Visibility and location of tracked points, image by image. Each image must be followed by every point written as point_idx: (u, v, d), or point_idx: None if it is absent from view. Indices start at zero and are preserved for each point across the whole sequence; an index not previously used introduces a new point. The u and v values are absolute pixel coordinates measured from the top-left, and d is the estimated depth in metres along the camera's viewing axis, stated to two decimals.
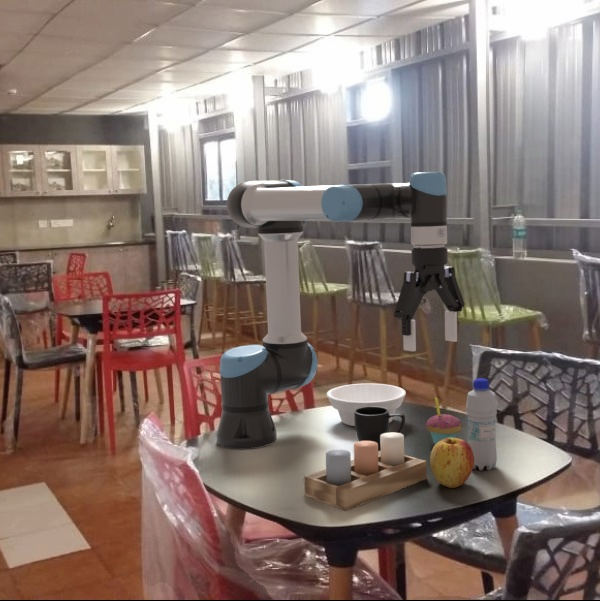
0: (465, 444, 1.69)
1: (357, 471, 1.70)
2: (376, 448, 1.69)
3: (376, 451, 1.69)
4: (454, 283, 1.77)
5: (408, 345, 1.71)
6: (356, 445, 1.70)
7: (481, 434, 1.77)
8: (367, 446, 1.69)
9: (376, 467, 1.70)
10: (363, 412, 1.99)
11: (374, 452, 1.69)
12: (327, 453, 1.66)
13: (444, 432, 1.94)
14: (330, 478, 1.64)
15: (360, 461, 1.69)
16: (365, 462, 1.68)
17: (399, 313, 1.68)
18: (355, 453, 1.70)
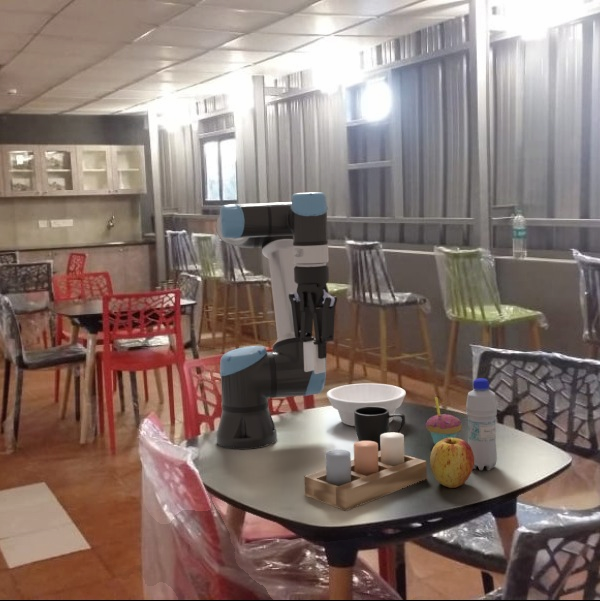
0: (465, 444, 1.69)
1: (357, 471, 1.70)
2: (376, 448, 1.69)
3: (376, 451, 1.69)
4: (323, 313, 1.74)
5: None
6: (356, 445, 1.70)
7: (481, 434, 1.77)
8: (367, 446, 1.69)
9: (376, 467, 1.70)
10: (363, 412, 1.99)
11: (374, 452, 1.69)
12: (327, 453, 1.66)
13: (444, 432, 1.94)
14: (330, 478, 1.64)
15: (360, 461, 1.69)
16: (365, 462, 1.68)
17: None
18: (355, 453, 1.70)
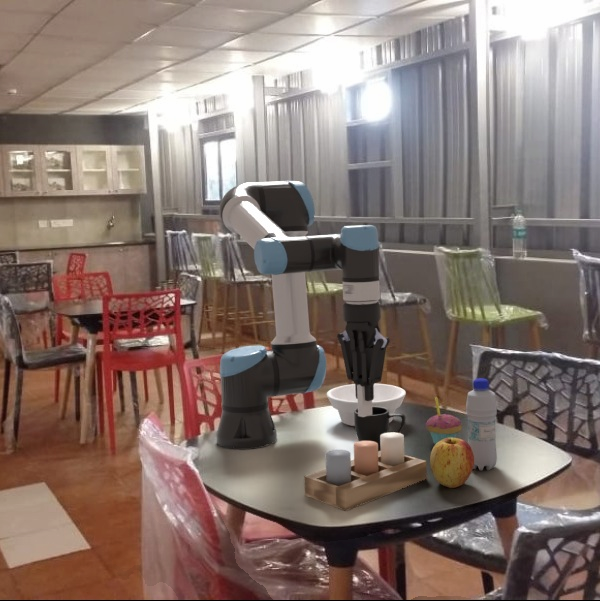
0: (465, 444, 1.69)
1: (357, 471, 1.70)
2: (376, 448, 1.69)
3: (376, 451, 1.69)
4: (373, 354, 1.64)
5: None
6: (356, 445, 1.70)
7: (481, 434, 1.77)
8: (367, 446, 1.69)
9: (376, 467, 1.70)
10: None
11: (374, 452, 1.69)
12: (327, 453, 1.66)
13: (444, 432, 1.94)
14: (330, 478, 1.64)
15: (360, 461, 1.69)
16: (365, 462, 1.68)
17: None
18: (355, 453, 1.70)
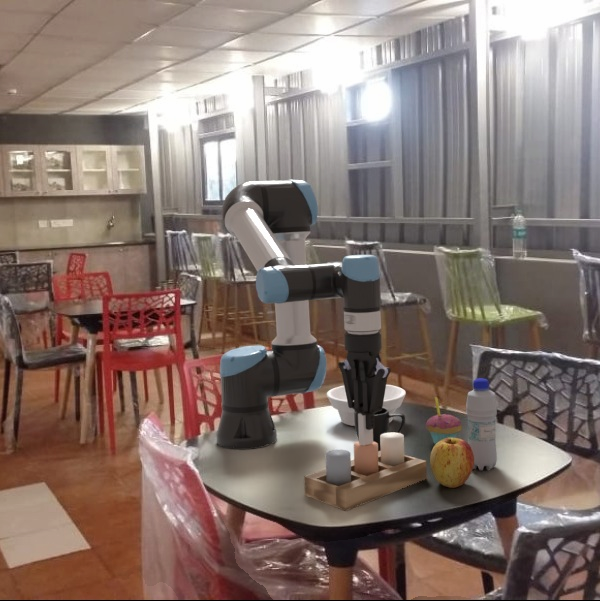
0: (465, 444, 1.69)
1: (357, 471, 1.70)
2: (376, 448, 1.69)
3: (376, 451, 1.69)
4: (374, 384, 1.65)
5: None
6: (356, 445, 1.70)
7: (481, 434, 1.77)
8: (367, 446, 1.69)
9: (376, 467, 1.70)
10: None
11: (374, 452, 1.69)
12: (327, 453, 1.66)
13: (444, 432, 1.94)
14: (330, 478, 1.64)
15: (360, 461, 1.69)
16: (365, 462, 1.68)
17: None
18: (355, 453, 1.70)
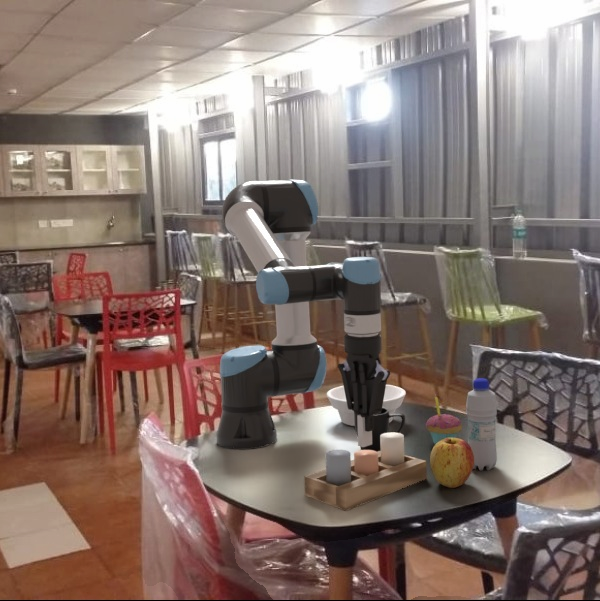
0: (465, 444, 1.69)
1: None
2: (376, 457, 1.70)
3: (376, 460, 1.70)
4: (374, 386, 1.65)
5: None
6: (356, 454, 1.70)
7: (481, 434, 1.77)
8: (367, 455, 1.69)
9: None
10: None
11: (374, 461, 1.69)
12: (327, 453, 1.66)
13: (444, 432, 1.94)
14: (330, 478, 1.64)
15: (360, 470, 1.69)
16: (365, 471, 1.69)
17: None
18: (355, 462, 1.70)
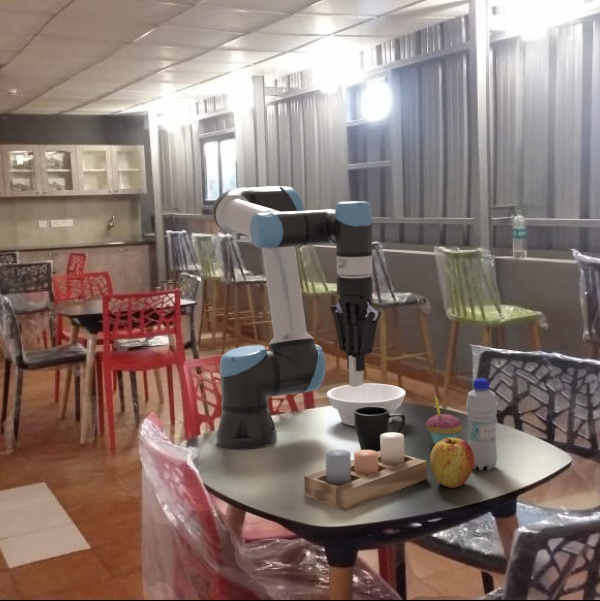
0: (465, 444, 1.69)
1: None
2: (376, 457, 1.70)
3: (376, 460, 1.70)
4: (365, 326, 1.70)
5: None
6: (356, 454, 1.70)
7: (481, 434, 1.77)
8: (367, 455, 1.69)
9: None
10: (363, 412, 1.99)
11: (374, 461, 1.69)
12: (327, 453, 1.66)
13: (444, 432, 1.94)
14: (330, 478, 1.64)
15: (360, 470, 1.69)
16: (365, 471, 1.69)
17: None
18: (355, 462, 1.70)
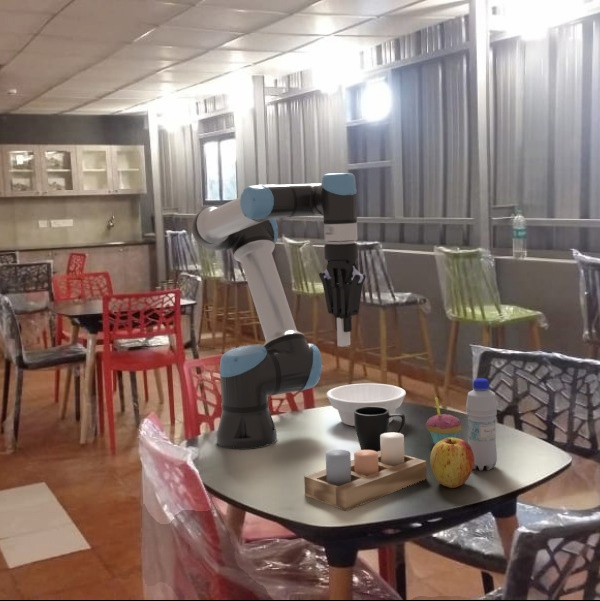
0: (465, 444, 1.69)
1: None
2: (376, 457, 1.70)
3: (376, 460, 1.70)
4: (351, 289, 1.83)
5: None
6: (356, 454, 1.70)
7: (481, 434, 1.77)
8: (367, 455, 1.69)
9: None
10: (363, 412, 1.99)
11: (374, 461, 1.69)
12: (327, 453, 1.66)
13: (444, 432, 1.94)
14: (330, 478, 1.64)
15: (360, 470, 1.69)
16: (365, 471, 1.69)
17: None
18: (355, 462, 1.70)
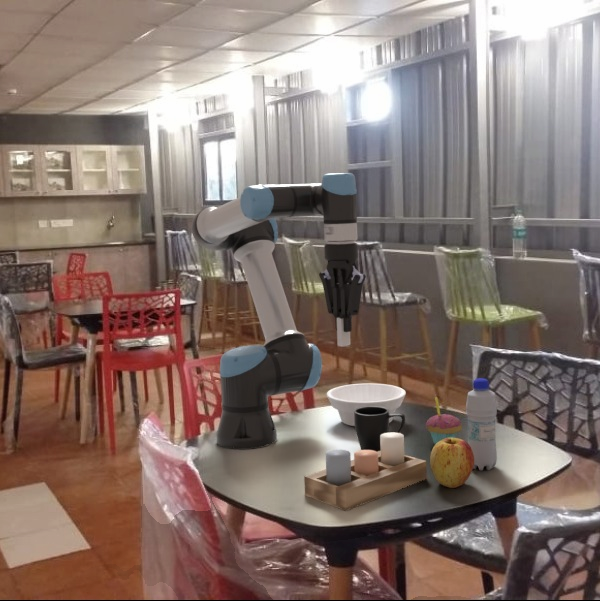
0: (465, 444, 1.69)
1: None
2: (376, 457, 1.70)
3: (376, 460, 1.70)
4: (351, 289, 1.83)
5: None
6: (356, 454, 1.70)
7: (481, 434, 1.77)
8: (367, 455, 1.69)
9: None
10: (363, 412, 1.99)
11: (374, 461, 1.69)
12: (327, 453, 1.66)
13: (444, 432, 1.94)
14: (330, 478, 1.64)
15: (360, 470, 1.69)
16: (365, 471, 1.69)
17: None
18: (355, 462, 1.70)
